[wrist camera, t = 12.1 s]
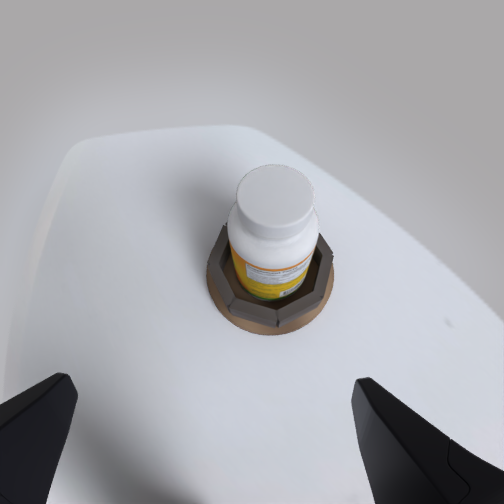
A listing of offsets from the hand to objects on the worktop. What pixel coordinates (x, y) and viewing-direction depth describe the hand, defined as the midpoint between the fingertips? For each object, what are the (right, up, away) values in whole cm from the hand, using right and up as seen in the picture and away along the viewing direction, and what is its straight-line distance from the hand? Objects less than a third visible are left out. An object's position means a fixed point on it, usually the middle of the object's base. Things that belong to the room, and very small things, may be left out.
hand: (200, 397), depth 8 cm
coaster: (+3, +2, +16) cm, 17 cm away
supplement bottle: (+3, +3, +16) cm, 16 cm away
